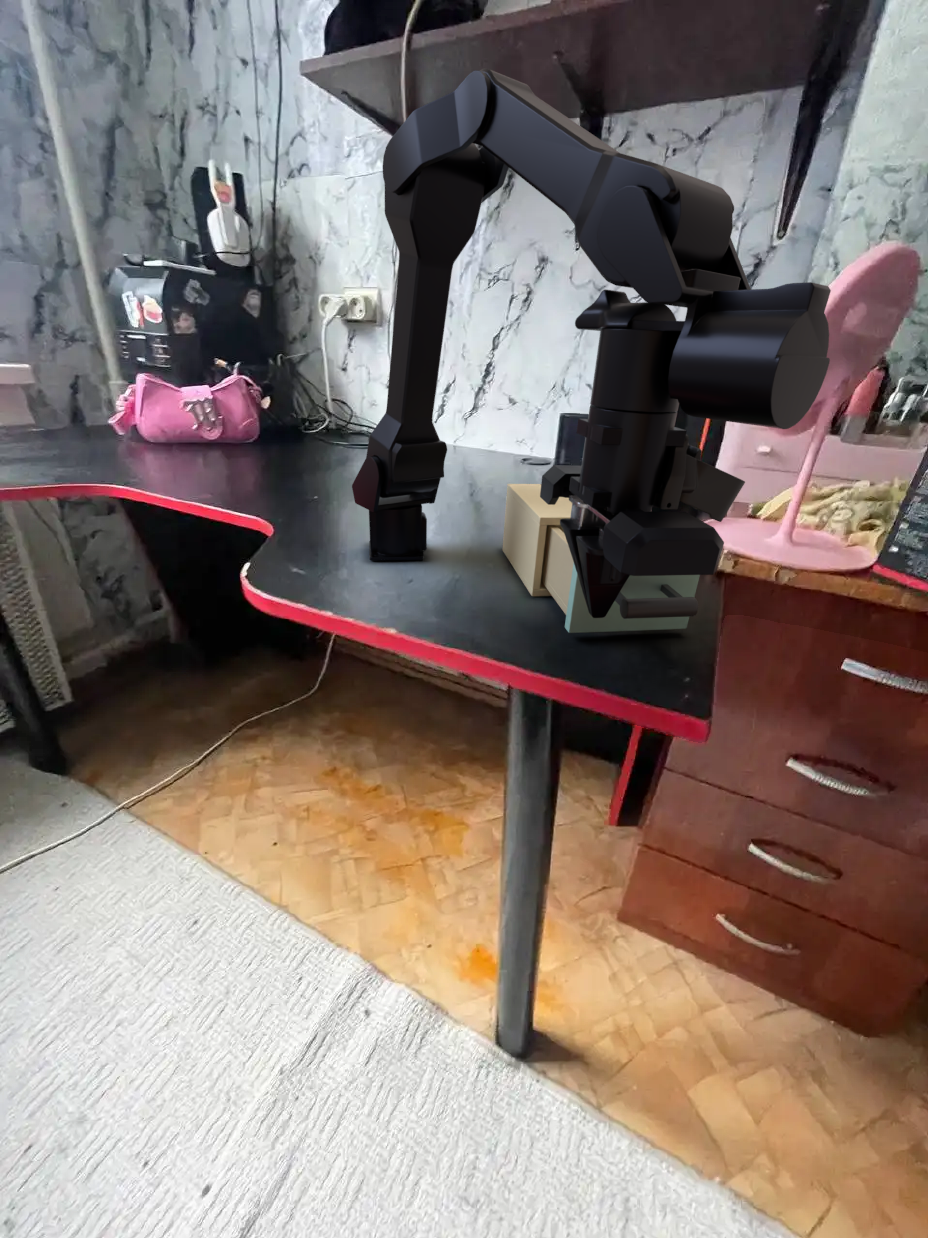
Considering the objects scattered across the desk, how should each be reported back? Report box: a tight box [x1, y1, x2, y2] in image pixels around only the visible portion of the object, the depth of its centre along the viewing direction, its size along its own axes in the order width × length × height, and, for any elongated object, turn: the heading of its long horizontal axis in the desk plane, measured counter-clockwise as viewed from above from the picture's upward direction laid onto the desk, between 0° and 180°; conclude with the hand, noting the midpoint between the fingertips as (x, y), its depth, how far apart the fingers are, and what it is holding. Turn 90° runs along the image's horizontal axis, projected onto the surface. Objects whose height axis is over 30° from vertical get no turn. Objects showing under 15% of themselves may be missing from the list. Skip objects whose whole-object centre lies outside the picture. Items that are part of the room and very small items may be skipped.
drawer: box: [541, 525, 701, 634], centre depth 52 cm, size 18×11×7 cm, turn 9°
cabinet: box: [502, 483, 572, 597], centre depth 63 cm, size 15×13×9 cm
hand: (597, 616), depth 44 cm, fingers closed
